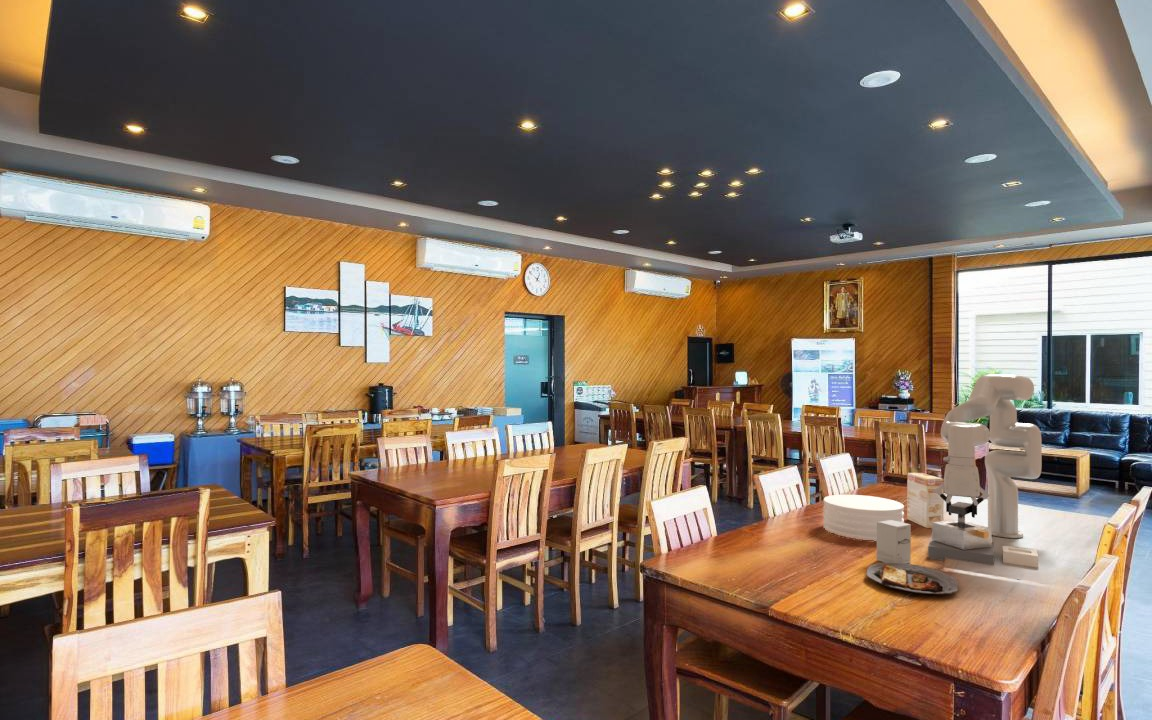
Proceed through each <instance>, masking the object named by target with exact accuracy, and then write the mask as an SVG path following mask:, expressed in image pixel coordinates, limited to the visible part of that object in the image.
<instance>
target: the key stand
mask: <svg viewBox="0 0 1152 720" xmlns="http://www.w3.org/2000/svg"><path fill="white" fill-rule="evenodd" d="M1002 563H1003V564H1004V563H1005V564H1012V565H1017V566H1024V567H1030V568H1039V555H1038V550H1037V549H1032V548H1026V547H1025V548H1024V547H1017V546H1008V545H1002Z"/></svg>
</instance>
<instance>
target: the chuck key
mask: <svg viewBox="0 0 1152 720" xmlns="http://www.w3.org/2000/svg"><path fill="white" fill-rule="evenodd" d="M949 513H951V514H955V515H957V520H958V527H960V528H965V521H966V515H968V514H972V503H969V502H965V501H964V502H962V501H957V502H955V503H951V505H949V512H948V514H949Z"/></svg>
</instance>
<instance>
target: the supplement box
mask: <svg viewBox="0 0 1152 720" xmlns="http://www.w3.org/2000/svg"><path fill="white" fill-rule="evenodd" d="M911 528H912V527H911V524H910V523H906V522H904V523H903V522H898V521H894V520H887V521H881V522H877V542H876V560H877V562H878V561H879V562H880V563H904V564H911V552H912V551H911V549H912V548H911V547H912V545H911V544H912V543H911V542H912V541H911V540H912V539H911V536H912V535H911V532H912V529H911Z"/></svg>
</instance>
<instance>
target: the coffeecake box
mask: <svg viewBox="0 0 1152 720" xmlns="http://www.w3.org/2000/svg"><path fill="white" fill-rule="evenodd" d="M906 476H907V477H906V478H907V479H906V482H907V485H906V487H907V488H906V489H907V490H906V494H907V499H906V500H907V501H906V508H907V510H906V514H907V516H906V518H907V520H909V521H911V522H913V523H915V524H917V525H919V526H921V527H924V528H926V529H932V522H940V521H944V507H945V506H944V502H945V501H944V500H943V499H942V498H941V497H940V496H939V495H938V494H937V493H936V492H935V489H936V488H938V487H939V486H940V485H941V484H943V483H944V478H941V477H938V476H935V475H930V474H927V473H925V472H907V475H906ZM941 492H942V493H943V494H944V493H945V492H944V489H942V490H941ZM944 495H945V494H944Z"/></svg>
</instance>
